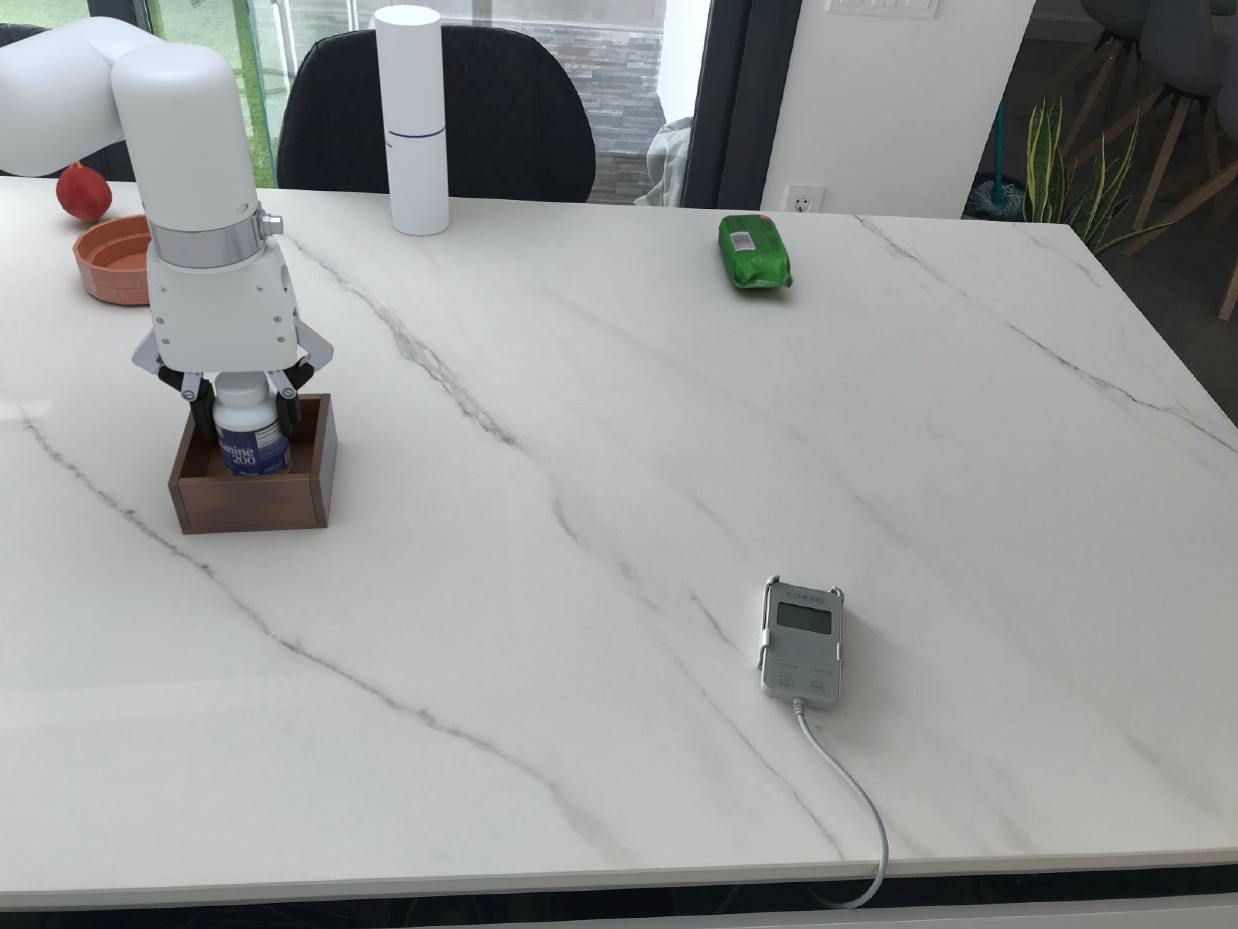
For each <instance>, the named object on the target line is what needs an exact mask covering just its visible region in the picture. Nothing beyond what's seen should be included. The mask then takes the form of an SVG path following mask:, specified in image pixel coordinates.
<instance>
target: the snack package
mask: <svg viewBox="0 0 1238 929" xmlns="http://www.w3.org/2000/svg"><path fill="white" fill-rule="evenodd" d="M717 242H718V247H719V249H720V252H721V255H722V258H723V263H724V266H725V269H726V272H727V273H728V276H729V279H730V281H731V282H732V284H733V285H735V287H736V288H738V289H751V288H753V289H754V288H775V287H778V286H783V287H784V288H785V289H786V288H787V289H790V288H791V286H792V284H793V283H794V281H795V280H794V279H793V277H792V274H791V261H790V256H789V253H788V251H787V248H786V246H785V243H784V242H783V239H782V237H781V235H780V232H779V229H778V228H777V225H776V224H775V222H774V221H773V220H772V219H771V217H769V216H766V215H763V214H756V213H755V214H754V213H753V214H752V213H749V214H729V215H725V216H724V217H722V219H721V221H720V223H719V225H718V238H717Z"/></svg>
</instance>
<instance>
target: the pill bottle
mask: <svg viewBox="0 0 1238 929" xmlns="http://www.w3.org/2000/svg"><path fill="white" fill-rule="evenodd" d="M214 387H215V388H214V389H215V392H216V396H217V399H216V400H215V402H214V404H213V407H212V414H213V419H214V423H215V427H216V431H217V435H218V439H219V443H220V447H221V451H222V455H223V459H224V463H225V467H226V470H227V473H228V476H250V475H276V474H288V473H289V472H290V469H291V465H292V461H291V455H290V449H289V443H288V438H285V437H284V436H282V433H281V428H280V423H279V418H278V413H277V408H276V395H277V392H275V391H274V390H272V389H271V388H270V383H269V380H268V377H267V374H266V371H246V372H219V373H218V374H217V375H216V377H215V378H214Z"/></svg>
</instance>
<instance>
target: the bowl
mask: <svg viewBox="0 0 1238 929" xmlns="http://www.w3.org/2000/svg"><path fill="white" fill-rule="evenodd" d="M151 240H152V239H151V235H150V231H149V227H148V224H147V220H146V216H145V213H144V214H133V215H127V216H122V217H121V216H120V217H116V218H112V219H109V220H107V221H104V222H101V223H98V224H96V225H93V226H91V227H90V228H88V229H87V230H86V231H84V232H82V233H81V234H79V235H78V236H77V238H76V240H75V241H74V243H73V245H72V247H71V249H72V253H73V255H74V259H75V262H76V265H77V269H78V270H79V271H78V272H79V274H80V277H81V280H82V283H83V286H84V289H85V292H86V293H89V294H90V295H92V296H93V297H95V298H96V299H97V300H99V301H103V302H108V303H113V304H116V305H117V304H118V305H150V300H149V292H148V281H147V250H148V245H149V243H150V241H151Z"/></svg>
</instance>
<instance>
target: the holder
mask: <svg viewBox="0 0 1238 929" xmlns="http://www.w3.org/2000/svg"><path fill="white" fill-rule="evenodd" d="M298 397H299V402H300V408H301V420H300V423H294V426H293V431H292V437H287V438H288V443H289V449H290V455H291V461H292V465H291V469H290V472H289V473H288V474H276V475H250V476H228V473H227V470H226V467H225V463H224V459H223V455H222V451H221V447H220V443H219V439H218V435H217V431H216V435H215V438H213V439H212V440H205V438H204V435H203V431H202V427H201V425H200V426H196V425H195V422H194V419H193V415H192V411H191V408H190V409H189V413H188V416H187V420H186V423H185V426H184V429H183V432H182V436H181V438H180V443H179V446H178V448H177V452H176V456H175V459H174V462H173V466H172V469H171V472H170V475H169V478H168V482H167V489H168V491H169V495H170V497H171V501H172V504H173V508H174V510H175V514H176V517H177V521H178V524H179V527H180V531H181V534H182V535H190V534H191V535H194V534H195V535H196V534H214V533H215V534H216V533H217V534H219V533H235V532H236V533H237V532H239V533H240V532H257V531H259V532H260V531H279V530H297V529H298V530H300V529H322V528H328V526H329V520H330V519H329V517H330V509H331V501H332V493H333V492H332V491H333V484H334V475H335V467H336V466H335V465H336V458H337V450H338V434H337V428H336V420H335V415H334V414H335V413H334V407H333V401H332V395H331V393H330V392H328V393H327V392H325V393H324V392H323V393H298ZM215 398H216V399H217V395H215Z"/></svg>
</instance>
